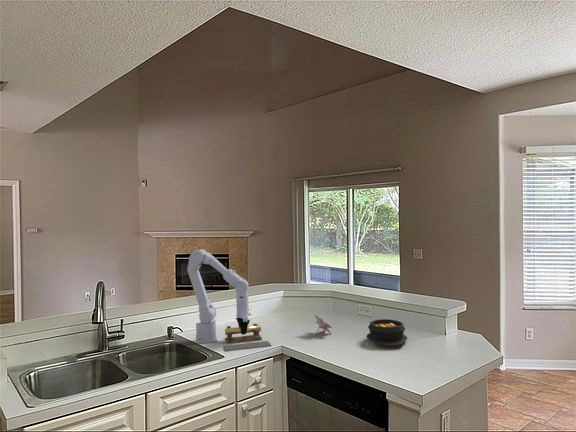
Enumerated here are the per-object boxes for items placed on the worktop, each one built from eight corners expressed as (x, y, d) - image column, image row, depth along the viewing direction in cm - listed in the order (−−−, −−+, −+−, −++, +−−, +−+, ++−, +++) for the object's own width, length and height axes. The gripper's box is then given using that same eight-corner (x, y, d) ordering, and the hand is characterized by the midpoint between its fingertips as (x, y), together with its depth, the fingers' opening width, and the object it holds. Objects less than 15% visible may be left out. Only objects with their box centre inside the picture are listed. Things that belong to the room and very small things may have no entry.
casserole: (412, 349, 183) (411, 330, 183) (368, 349, 185) (368, 330, 185) (402, 333, 208) (402, 316, 208) (364, 333, 210) (364, 316, 210)
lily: (332, 340, 203) (338, 321, 206) (309, 331, 202) (315, 312, 206) (326, 341, 214) (332, 322, 217) (305, 332, 214) (311, 314, 217)
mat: (225, 351, 187) (225, 350, 187) (223, 346, 193) (223, 345, 193) (271, 346, 193) (271, 345, 193) (267, 341, 199) (267, 340, 199)
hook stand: (226, 343, 198) (226, 329, 197) (224, 340, 204) (224, 326, 204) (261, 339, 202) (261, 326, 202) (259, 336, 208) (258, 323, 208)
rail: (225, 335, 199) (225, 329, 199) (225, 334, 202) (224, 327, 202) (261, 332, 204) (260, 325, 204) (259, 330, 207) (259, 324, 207)
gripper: (253, 307, 197) (254, 336, 197) (247, 301, 211) (248, 328, 211) (238, 308, 195) (239, 338, 195) (233, 302, 209) (234, 330, 209)
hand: (243, 333), depth 203 cm, fingers closed on rail, 3 cm apart
